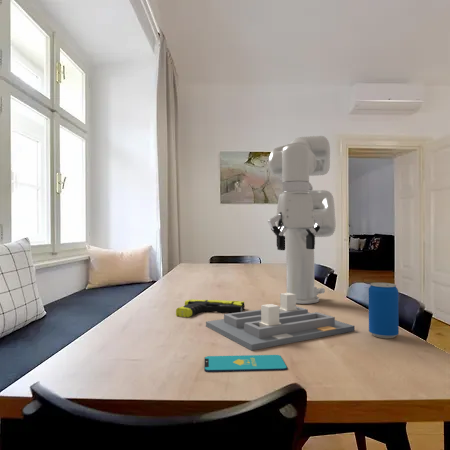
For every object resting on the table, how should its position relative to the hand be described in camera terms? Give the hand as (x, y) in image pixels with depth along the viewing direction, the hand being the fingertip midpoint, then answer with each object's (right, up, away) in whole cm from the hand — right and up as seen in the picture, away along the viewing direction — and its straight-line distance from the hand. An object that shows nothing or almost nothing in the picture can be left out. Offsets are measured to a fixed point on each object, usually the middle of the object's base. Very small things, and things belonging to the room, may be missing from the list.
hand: (296, 249), depth 106 cm
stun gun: (-25, -20, +7) cm, 33 cm away
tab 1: (-10, -18, -19) cm, 27 cm away
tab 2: (-3, -18, -4) cm, 18 cm away
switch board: (-7, -19, -11) cm, 23 cm away
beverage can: (+17, -19, -18) cm, 31 cm away
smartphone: (-17, -20, -36) cm, 44 cm away
